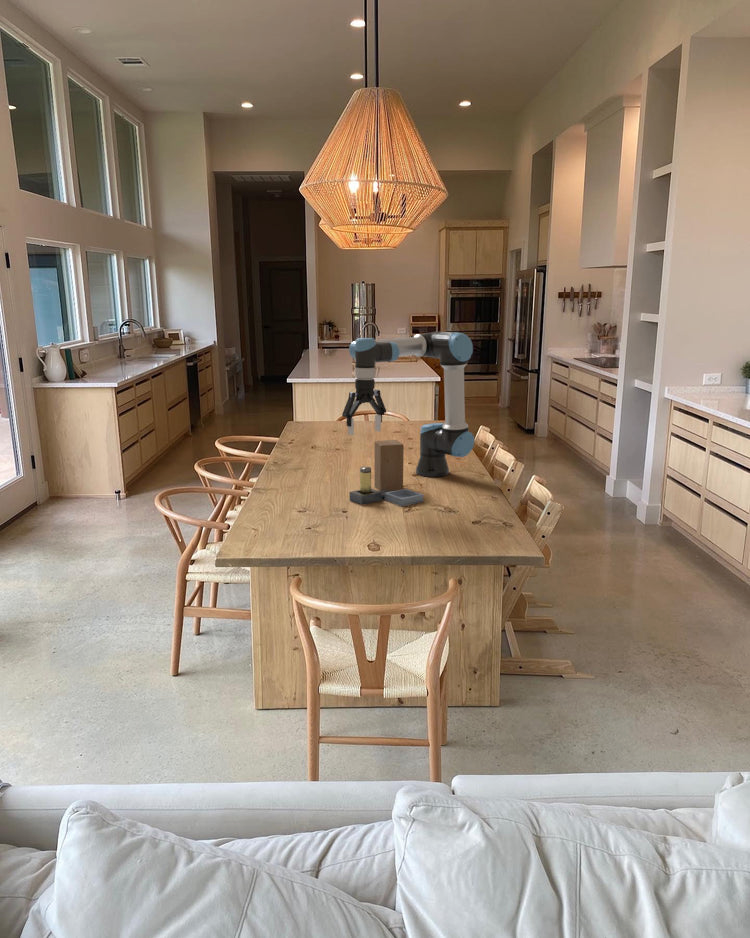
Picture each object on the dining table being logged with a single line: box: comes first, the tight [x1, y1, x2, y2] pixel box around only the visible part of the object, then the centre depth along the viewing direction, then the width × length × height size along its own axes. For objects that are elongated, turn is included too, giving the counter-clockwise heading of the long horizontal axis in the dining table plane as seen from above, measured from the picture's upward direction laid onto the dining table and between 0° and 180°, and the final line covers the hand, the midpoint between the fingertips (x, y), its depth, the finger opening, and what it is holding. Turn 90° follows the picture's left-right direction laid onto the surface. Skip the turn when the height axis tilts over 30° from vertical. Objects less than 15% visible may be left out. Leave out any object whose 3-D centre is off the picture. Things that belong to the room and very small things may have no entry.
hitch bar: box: [349, 488, 392, 506], centre depth 296 cm, size 18×8×4 cm, turn 128°
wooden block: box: [373, 439, 405, 491], centre depth 310 cm, size 10×10×20 cm
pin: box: [359, 466, 372, 495], centre depth 292 cm, size 4×4×14 cm
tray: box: [384, 488, 424, 507], centre depth 293 cm, size 11×11×3 cm
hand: (364, 432), depth 288 cm, fingers open, 13 cm apart
